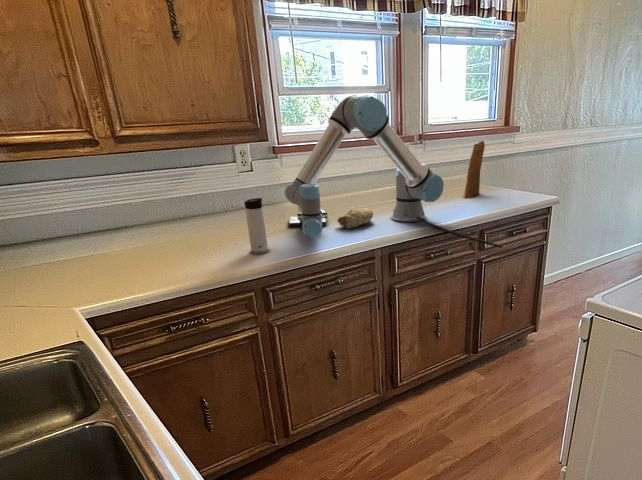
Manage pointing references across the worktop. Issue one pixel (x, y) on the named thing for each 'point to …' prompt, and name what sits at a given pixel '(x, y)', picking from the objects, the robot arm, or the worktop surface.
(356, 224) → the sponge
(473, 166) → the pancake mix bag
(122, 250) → the worktop surface
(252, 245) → the travel mug
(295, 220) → the stove panel
